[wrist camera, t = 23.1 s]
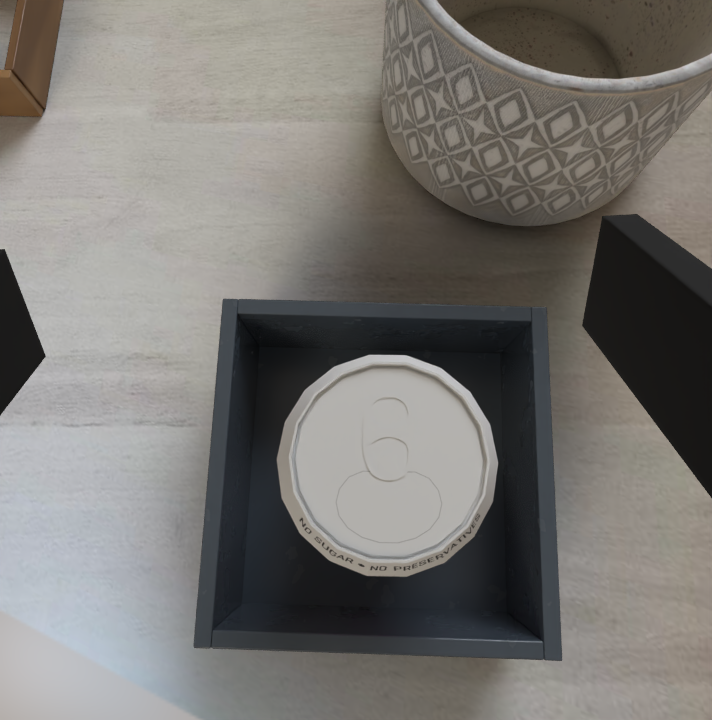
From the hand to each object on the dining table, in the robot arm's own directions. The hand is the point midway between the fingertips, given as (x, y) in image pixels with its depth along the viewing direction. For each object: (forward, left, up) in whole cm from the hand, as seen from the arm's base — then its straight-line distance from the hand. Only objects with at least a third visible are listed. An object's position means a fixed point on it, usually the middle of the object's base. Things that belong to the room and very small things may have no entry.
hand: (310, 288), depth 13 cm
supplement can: (+2, -3, -23) cm, 24 cm away
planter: (+11, +22, -24) cm, 34 cm away
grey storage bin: (+2, -3, -24) cm, 24 cm away
